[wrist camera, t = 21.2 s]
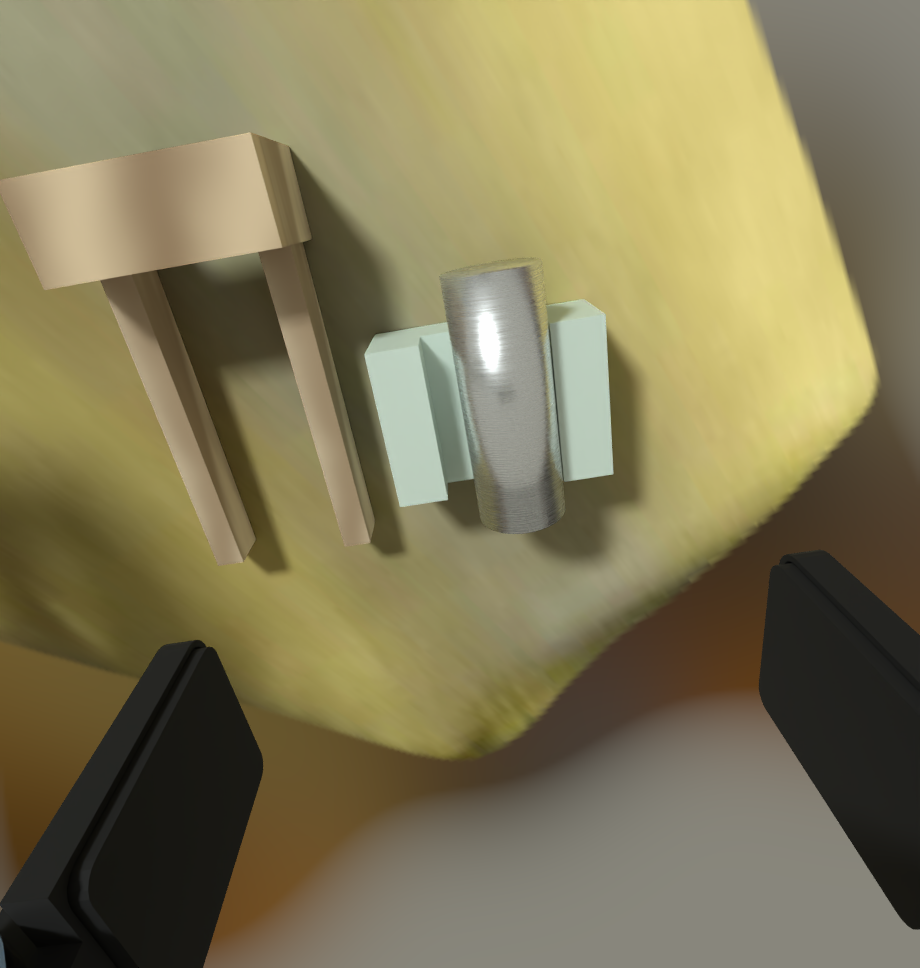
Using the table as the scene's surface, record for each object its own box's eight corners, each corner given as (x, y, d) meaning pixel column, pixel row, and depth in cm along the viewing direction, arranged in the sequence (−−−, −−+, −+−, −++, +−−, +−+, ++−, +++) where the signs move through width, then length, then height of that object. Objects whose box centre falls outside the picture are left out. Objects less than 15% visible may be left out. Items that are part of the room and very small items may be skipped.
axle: (531, 483, 33) (583, 510, 29) (464, 511, 31) (511, 544, 27) (504, 258, 27) (563, 257, 24) (421, 277, 26) (473, 279, 22)
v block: (405, 470, 34) (400, 507, 30) (374, 334, 30) (364, 354, 26) (593, 441, 33) (613, 474, 29) (583, 299, 30) (605, 314, 26)
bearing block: (224, 544, 36) (187, 602, 31) (81, 185, 27) (-6, 180, 22) (383, 519, 35) (372, 574, 30) (288, 146, 27) (250, 132, 21)
